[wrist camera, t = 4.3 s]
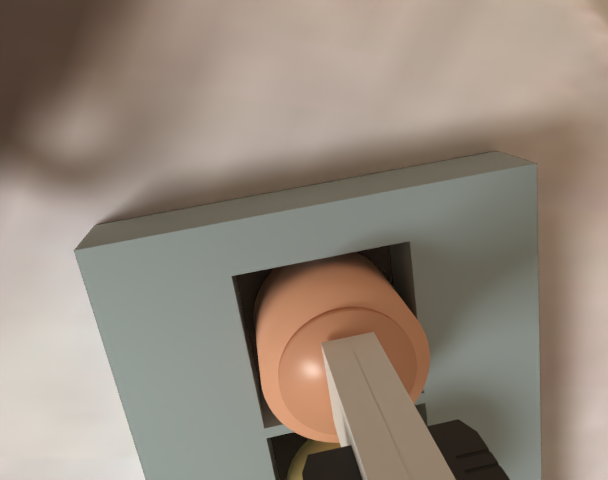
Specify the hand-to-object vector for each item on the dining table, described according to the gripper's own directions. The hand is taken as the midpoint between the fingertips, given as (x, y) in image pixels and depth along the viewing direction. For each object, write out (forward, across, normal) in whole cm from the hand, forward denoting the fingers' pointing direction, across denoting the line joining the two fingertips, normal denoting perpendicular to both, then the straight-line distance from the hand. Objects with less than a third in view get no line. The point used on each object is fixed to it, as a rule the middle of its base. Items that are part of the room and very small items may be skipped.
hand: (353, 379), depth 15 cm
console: (+5, 0, -6) cm, 8 cm away
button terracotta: (+4, 0, 0) cm, 4 cm away
